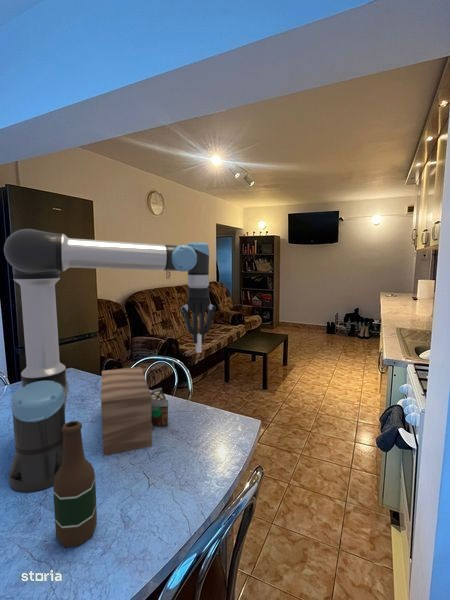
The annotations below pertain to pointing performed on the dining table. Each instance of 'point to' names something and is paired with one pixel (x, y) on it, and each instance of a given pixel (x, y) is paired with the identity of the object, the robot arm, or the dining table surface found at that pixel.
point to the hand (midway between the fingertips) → (198, 351)
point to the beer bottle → (74, 491)
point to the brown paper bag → (125, 411)
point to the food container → (159, 408)
